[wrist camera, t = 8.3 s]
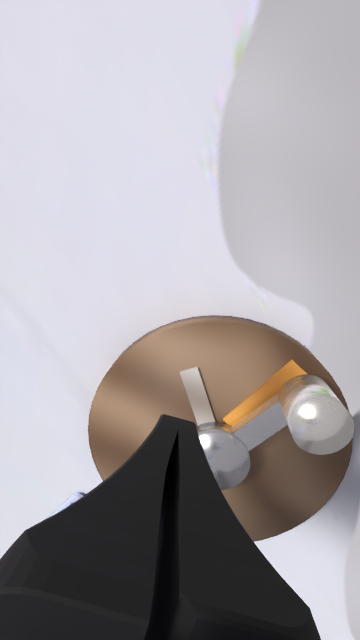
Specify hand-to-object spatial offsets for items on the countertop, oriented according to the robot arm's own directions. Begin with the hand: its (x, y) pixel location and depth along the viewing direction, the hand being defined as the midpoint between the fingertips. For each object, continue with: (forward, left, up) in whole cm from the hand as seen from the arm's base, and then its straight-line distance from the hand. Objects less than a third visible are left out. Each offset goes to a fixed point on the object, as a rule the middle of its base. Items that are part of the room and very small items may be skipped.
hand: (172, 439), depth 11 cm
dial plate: (-3, -6, -9) cm, 12 cm away
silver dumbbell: (0, -6, -7) cm, 10 cm away
